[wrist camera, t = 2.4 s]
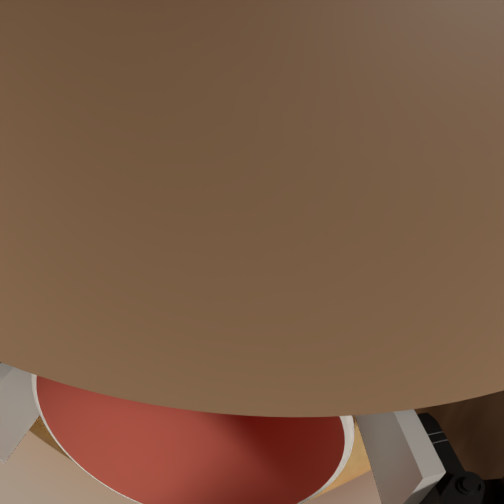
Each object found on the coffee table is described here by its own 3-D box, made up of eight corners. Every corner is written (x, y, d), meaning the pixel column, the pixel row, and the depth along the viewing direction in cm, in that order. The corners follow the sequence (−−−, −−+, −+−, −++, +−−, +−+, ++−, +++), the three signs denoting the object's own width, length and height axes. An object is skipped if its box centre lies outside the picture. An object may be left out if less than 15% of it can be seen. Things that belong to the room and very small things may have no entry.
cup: (124, 218, 16) (-11, 288, 6) (316, 218, 15) (394, 308, 6) (146, 372, 19) (87, 495, 9) (302, 380, 18) (323, 521, 9)
